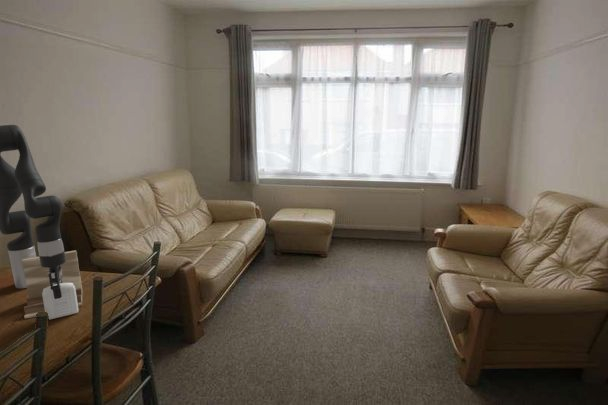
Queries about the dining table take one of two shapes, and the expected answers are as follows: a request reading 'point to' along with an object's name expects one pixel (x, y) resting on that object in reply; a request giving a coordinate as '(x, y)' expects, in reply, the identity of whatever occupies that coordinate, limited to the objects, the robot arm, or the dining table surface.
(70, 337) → the dining table surface
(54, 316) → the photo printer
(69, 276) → the cleat board
